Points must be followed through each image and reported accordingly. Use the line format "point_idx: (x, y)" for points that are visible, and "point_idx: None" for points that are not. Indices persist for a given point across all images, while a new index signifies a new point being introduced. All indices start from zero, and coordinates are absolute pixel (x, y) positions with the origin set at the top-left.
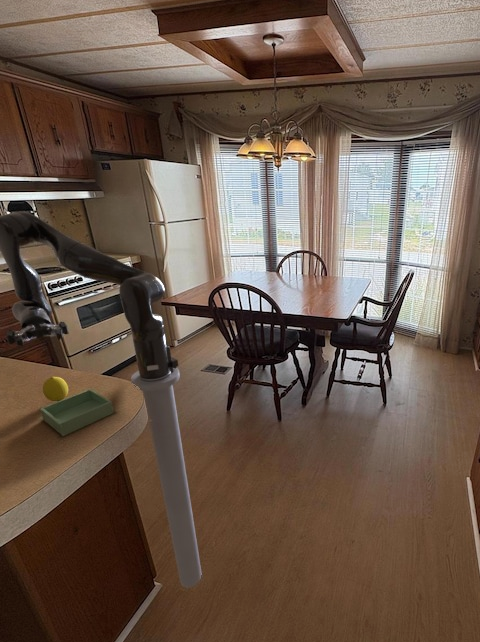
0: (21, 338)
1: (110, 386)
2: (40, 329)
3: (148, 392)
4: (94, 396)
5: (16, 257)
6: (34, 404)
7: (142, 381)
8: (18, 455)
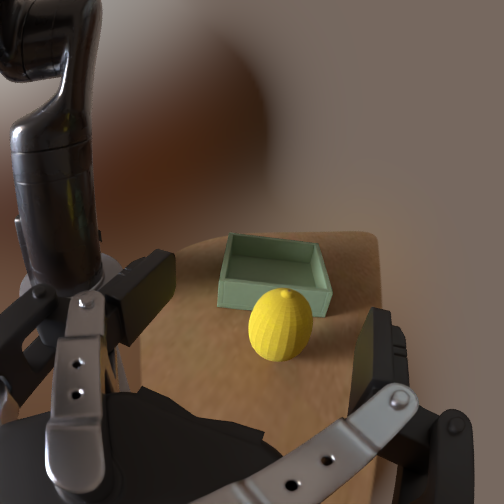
0: (374, 316)
1: (152, 320)
2: (168, 411)
3: None
4: (226, 276)
5: None
6: (323, 389)
7: (107, 281)
8: (369, 274)
